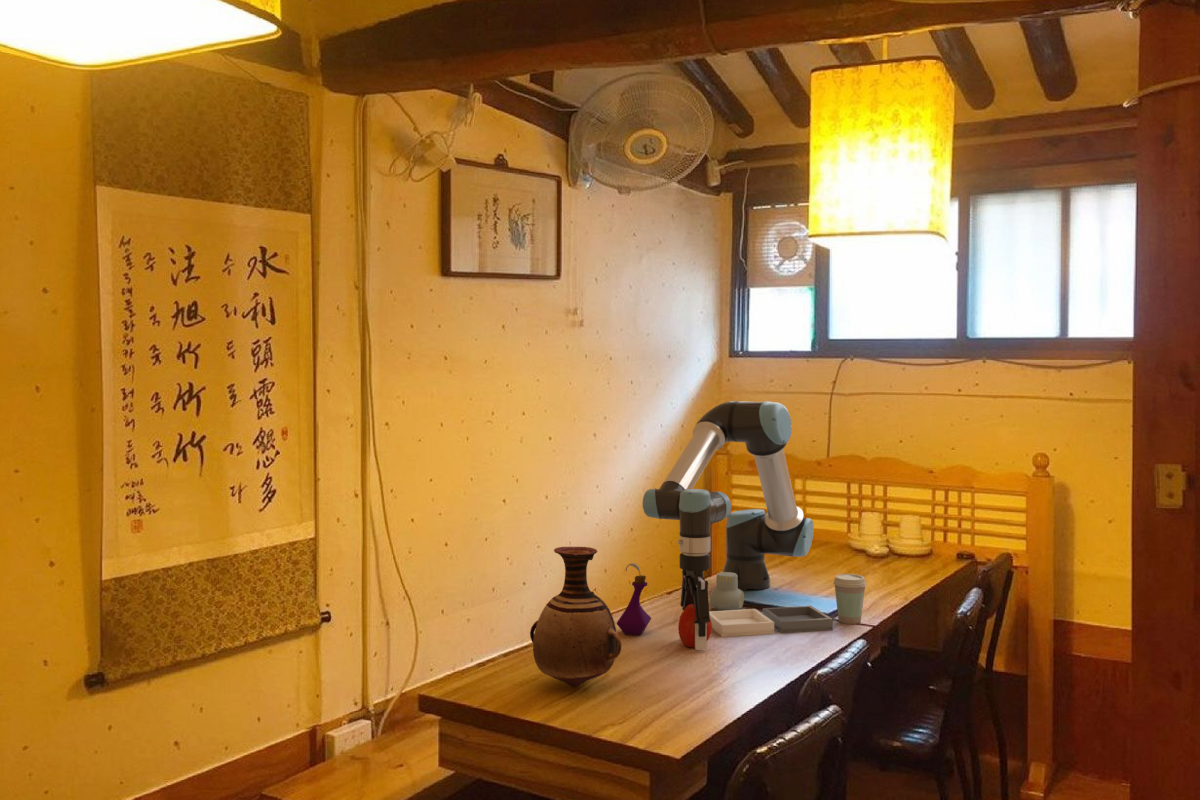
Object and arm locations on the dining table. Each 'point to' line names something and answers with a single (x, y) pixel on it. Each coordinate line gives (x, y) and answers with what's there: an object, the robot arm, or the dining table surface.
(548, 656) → the vase
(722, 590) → the air freshener
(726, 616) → the beige square dish
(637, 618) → the perfume bottle
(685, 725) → the dining table surface
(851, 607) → the coffee cup
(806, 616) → the grey square tray
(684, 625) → the apple
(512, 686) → the dining table surface
